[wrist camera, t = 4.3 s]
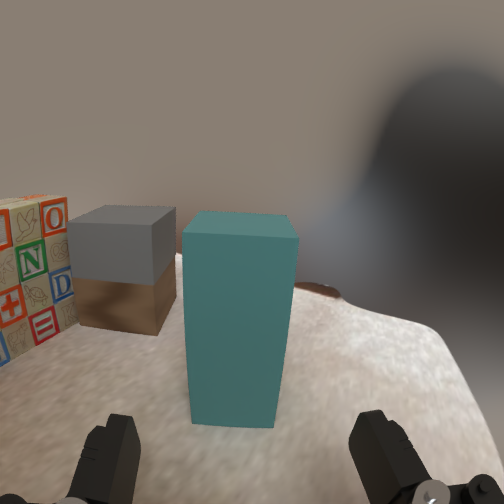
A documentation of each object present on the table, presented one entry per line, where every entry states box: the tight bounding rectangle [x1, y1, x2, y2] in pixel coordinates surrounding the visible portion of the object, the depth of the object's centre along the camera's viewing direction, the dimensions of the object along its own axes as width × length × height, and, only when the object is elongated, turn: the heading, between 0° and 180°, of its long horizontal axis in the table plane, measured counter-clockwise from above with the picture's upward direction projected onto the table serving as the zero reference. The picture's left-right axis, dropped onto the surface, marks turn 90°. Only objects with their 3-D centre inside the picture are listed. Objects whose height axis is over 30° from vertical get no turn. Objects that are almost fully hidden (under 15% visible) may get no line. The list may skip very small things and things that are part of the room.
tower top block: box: [66, 205, 176, 285], centre depth 27 cm, size 8×8×5 cm
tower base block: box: [71, 256, 176, 336], centre depth 29 cm, size 8×8×5 cm
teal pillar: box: [182, 211, 299, 428], centre depth 17 cm, size 5×5×12 cm
